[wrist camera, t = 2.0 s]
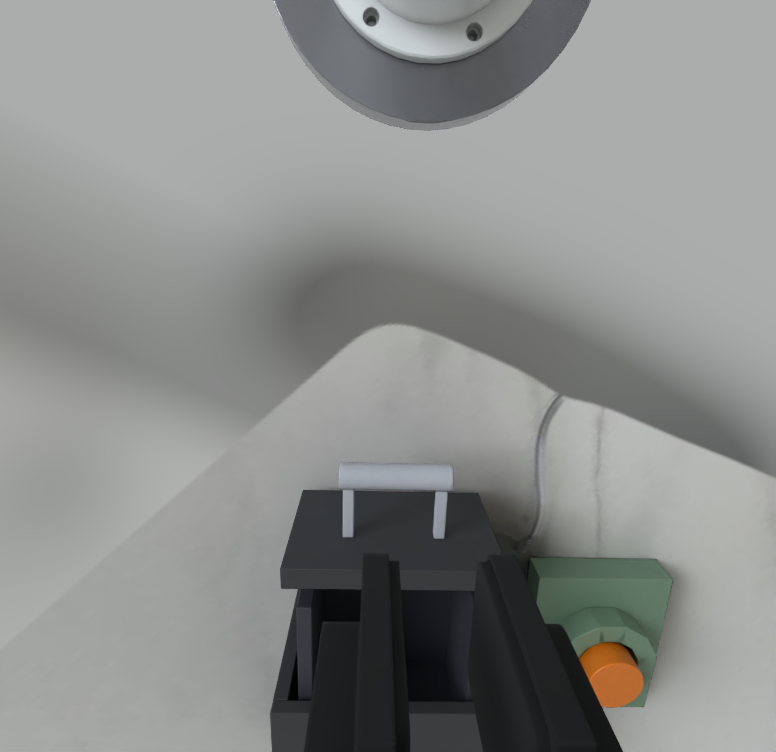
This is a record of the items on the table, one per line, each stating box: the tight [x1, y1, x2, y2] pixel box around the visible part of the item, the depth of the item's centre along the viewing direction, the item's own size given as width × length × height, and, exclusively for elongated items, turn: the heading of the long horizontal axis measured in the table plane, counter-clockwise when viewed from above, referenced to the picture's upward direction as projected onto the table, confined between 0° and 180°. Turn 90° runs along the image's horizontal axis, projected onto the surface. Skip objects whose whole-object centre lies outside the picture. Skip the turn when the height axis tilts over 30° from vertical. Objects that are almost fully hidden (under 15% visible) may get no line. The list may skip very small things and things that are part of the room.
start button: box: [579, 642, 644, 708], centre depth 32 cm, size 4×4×2 cm
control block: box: [527, 557, 673, 707], centre depth 34 cm, size 11×9×4 cm
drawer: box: [280, 462, 502, 702], centre depth 29 cm, size 18×11×8 cm, turn 178°
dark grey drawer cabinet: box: [270, 589, 483, 752], centre depth 32 cm, size 15×13×10 cm
